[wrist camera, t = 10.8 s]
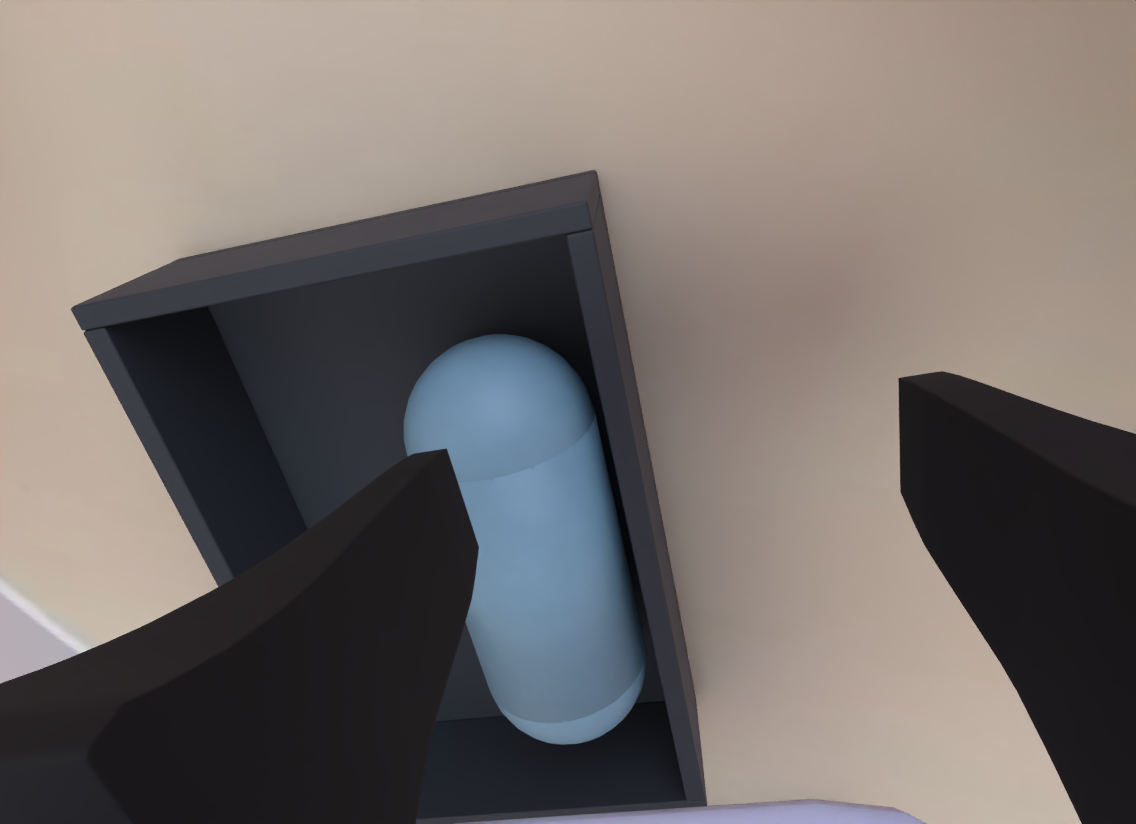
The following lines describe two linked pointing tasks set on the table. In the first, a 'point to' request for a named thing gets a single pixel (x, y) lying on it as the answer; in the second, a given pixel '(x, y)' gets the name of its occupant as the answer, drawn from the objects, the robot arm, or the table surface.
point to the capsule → (536, 534)
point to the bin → (376, 441)
